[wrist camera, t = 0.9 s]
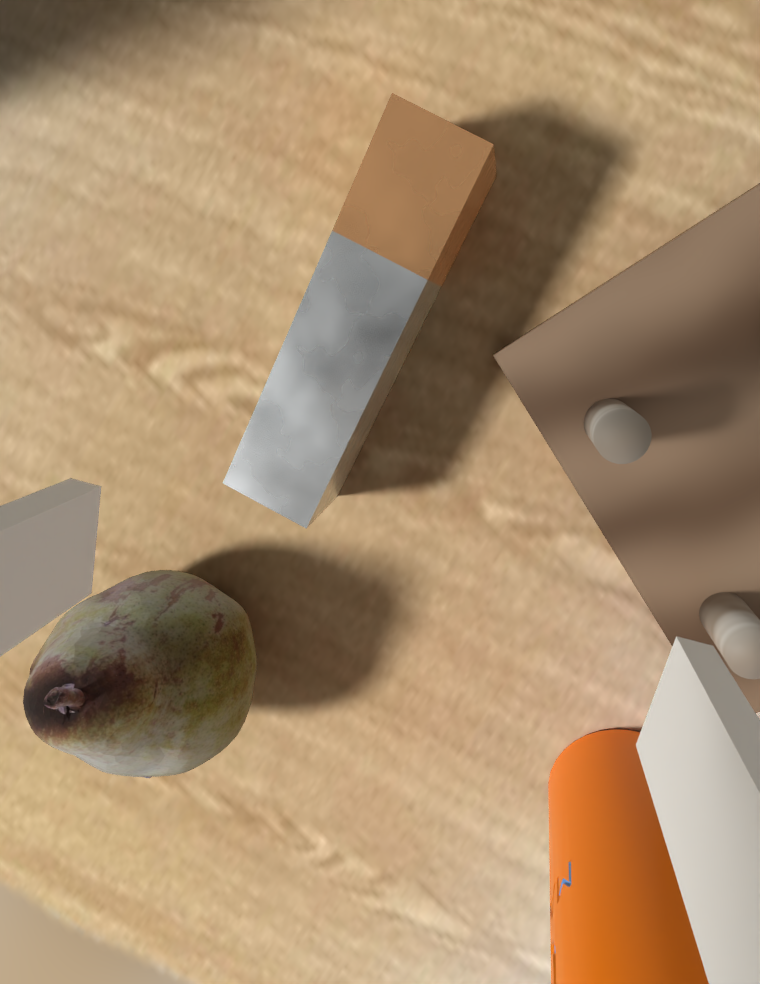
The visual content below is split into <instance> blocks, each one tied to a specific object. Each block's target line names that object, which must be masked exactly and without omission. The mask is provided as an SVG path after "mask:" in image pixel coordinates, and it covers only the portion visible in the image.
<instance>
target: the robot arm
mask: <svg viewBox="0 0 760 984" xmlns="http://www.w3.org/2000/svg"><path fill="white" fill-rule="evenodd" d="M100 494H101V486H98V485H94V484H91V483H87V482H83V481H79V480H75V479H71V478H70V479H68V480H65V481H63V482H60V483H58V484H55V485H53V486H50V487H48V488H45V489H42V490H40V491H37V492H35V493H32V494H30V495H27V496H25V497H22V498H20V499H17V500H15V501H12V502H10V503H7V504H4V505H2V506H0V656H2V655H3V654H5V653H6V652H7V651H9V650H10V649H12V648H13V647H15V646H16V645H17V644H19V643H20V642H22V641H23V640H25V639H26V638H28V637H29V636H30V635H32V634H33V633H35V632H36V631H38V630H39V629H40V628H42V627H43V626H45V625H46V624H48V623H49V622H51V621H52V620H53V619H55V618H56V617H58V616H59V615H61V614H62V613H64V612H65V611H66V610H68V609H69V608H71V607H72V606H74V605H75V604H76V603H78V602H79V601H81V600H82V599H84V598H85V597H87V596H88V595H89V594H91V592H92V581H93V570H94V559H95V548H96V537H97V526H98V516H99V505H100ZM636 748H637V751H638V754H639V757H640V761H641V764H642V767H643V770H644V774H645V777H646V780H647V784H648V787H649V790H650V793H651V797H652V800H653V803H654V806H655V810H656V813H657V816H658V819H659V823H660V826H661V829H662V832H663V836H664V839H665V842H666V846H667V849H668V852H669V855H670V859H671V862H672V865H673V868H674V872H675V875H676V878H677V881H678V885H679V888H680V891H681V894H682V898H683V901H684V904H685V907H686V911H687V914H688V917H689V921H690V924H691V927H692V930H693V934H694V937H695V940H696V943H697V947H698V950H699V953H700V956H701V960H702V963H703V966H704V969H705V973H706V976H707V979H708V983H709V984H760V720H759V718H758V716H757V715H756V713H755V712H754V710H753V708H752V707H751V705H750V704H749V702H748V701H747V699H746V697H745V696H744V694H743V693H742V691H741V689H740V688H739V686H738V685H737V683H736V681H735V680H734V678H733V677H732V675H731V673H730V672H729V670H728V669H727V667H726V665H725V664H724V662H723V661H722V659H721V657H720V656H719V654H718V653H717V651H716V649H715V648H714V646H712V645H708V644H704V643H700V642H697V641H693V640H689V639H685V638H681V637H677V636H676V638H675V641H674V644H673V646H672V649H671V652H670V654H669V657H668V660H667V662H666V665H665V668H664V670H663V673H662V676H661V679H660V681H659V684H658V687H657V689H656V692H655V695H654V697H653V700H652V703H651V705H650V708H649V711H648V713H647V716H646V719H645V722H644V724H643V727H642V730H641V732H640V735H639V738H638V740H637V743H636Z"/></svg>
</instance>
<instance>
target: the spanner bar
mask: <svg viewBox="0 0 760 984" xmlns="http://www.w3.org/2000/svg"><path fill="white" fill-rule="evenodd" d="M495 178H496V164H495V153H494V144H492V143H490V142H488V141H486V140H484V139H482V138H480V137H478V136H476V135H474V134H472V133H470V132H468V131H466V130H464V129H462V128H460V127H458V126H456V125H454V124H452V123H450V122H448V121H446V120H444V119H443V118H441V117H439V116H437V115H435V114H433V113H431V112H429V111H427V110H425V109H423V108H421V107H419V106H417V105H415V104H413V103H411V102H409V101H407V100H405V99H403V98H401V97H399V96H397V95H395V94H393V93H392V94H391V97H390V99H389V101H388V104H387V106H386V108H385V111H384V113H383V115H382V117H381V120H380V122H379V124H378V127H377V129H376V131H375V134H374V136H373V138H372V140H371V143H370V145H369V147H368V150H367V152H366V154H365V157H364V159H363V161H362V163H361V166H360V168H359V170H358V173H357V175H356V177H355V180H354V182H353V184H352V187H351V189H350V191H349V193H348V196H347V198H346V200H345V203H344V205H343V207H342V210H341V212H340V214H339V216H338V219H337V221H336V223H335V226H334V228H333V230H332V233H331V235H330V237H329V239H328V242H327V244H326V246H325V249H324V251H323V253H322V256H321V258H320V260H319V263H318V265H317V267H316V269H315V272H314V274H313V276H312V279H311V281H310V283H309V286H308V288H307V290H306V292H305V295H304V297H303V299H302V302H301V304H300V306H299V309H298V311H297V313H296V315H295V318H294V320H293V322H292V325H291V327H290V329H289V332H288V334H287V336H286V339H285V341H284V343H283V345H282V348H281V350H280V352H279V355H278V357H277V359H276V362H275V364H274V366H273V368H272V371H271V373H270V375H269V378H268V380H267V382H266V385H265V387H264V389H263V391H262V394H261V396H260V398H259V401H258V403H257V405H256V408H255V410H254V412H253V415H252V417H251V419H250V421H249V424H248V426H247V428H246V431H245V433H244V435H243V438H242V440H241V442H240V444H239V447H238V449H237V451H236V454H235V456H234V458H233V461H232V463H231V465H230V467H229V470H228V472H227V474H226V477H225V479H224V481H223V484H225V485H227V486H229V487H231V488H232V489H234V490H236V491H238V492H240V493H242V494H244V495H245V496H247V497H249V498H251V499H253V500H255V501H256V502H258V503H260V504H262V505H264V506H266V507H268V508H269V509H271V510H273V511H275V512H277V513H279V514H281V515H282V516H284V517H286V518H288V519H290V520H292V521H293V522H295V523H297V524H299V525H301V526H303V527H305V528H307V527H308V526H309V525H310V524H311V523H312V522H313V521H314V520H315V519H316V518H317V517H318V516H319V515H320V514H321V513H322V512H323V511H324V510H325V509H326V508H327V507H328V506H329V504H330V503H331V502H332V501H333V500H334V499H335V498H336V497H337V496H338V494H339V492H340V490H341V488H342V486H343V484H344V482H345V480H346V478H347V476H348V474H349V472H350V470H351V468H352V466H353V464H354V462H355V460H356V458H357V456H358V454H359V452H360V450H361V448H362V446H363V444H364V442H365V440H366V438H367V436H368V434H369V432H370V430H371V428H372V426H373V424H374V422H375V420H376V418H377V416H378V414H379V412H380V410H381V408H382V406H383V404H384V402H385V400H386V398H387V396H388V394H389V392H390V390H391V388H392V385H393V383H394V381H395V379H396V377H397V375H398V373H399V371H400V369H401V367H402V365H403V363H404V361H405V359H406V357H407V355H408V353H409V351H410V349H411V347H412V345H413V343H414V341H415V339H416V337H417V335H418V333H419V331H420V329H421V327H422V325H423V323H424V321H425V319H426V317H427V315H428V313H429V311H430V309H431V307H432V305H433V303H434V301H435V299H436V297H437V295H438V293H439V291H440V289H441V287H442V285H443V283H444V281H445V279H446V277H447V275H448V273H449V271H450V268H451V266H452V264H453V262H454V260H455V258H456V256H457V254H458V252H459V250H460V248H461V246H462V244H463V242H464V240H465V238H466V236H467V234H468V232H469V230H470V228H471V226H472V224H473V222H474V220H475V218H476V216H477V214H478V212H479V210H480V208H481V206H482V204H483V202H484V200H485V198H486V196H487V194H488V192H489V190H490V188H491V186H492V184H493V182H494V180H495Z"/></svg>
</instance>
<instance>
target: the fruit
mask: <svg viewBox="0 0 760 984" xmlns="http://www.w3.org/2000/svg"><path fill="white" fill-rule="evenodd" d="M256 664H257V660H256V650H255V644H254V639H253V634H252V629H251V625H250V621H249V618H248V616H247V614H246V612H245V610H244V609H243V608H242V607H241V606H240V605H239V604H238V603H237V602H236V601H235V600H233V599H232V598H230V597H229V596H227V595H226V594H224V593H223V592H221V591H220V590H218V589H217V588H216V587H214V586H213V585H212V584H210V583H208V582H206V581H205V580H203V579H201V578H200V577H197V576H195V575H193V574H189V573H185V572H180V571H172V570H160V571H150V572H145V573H142V574H139V575H136V576H133V577H130V578H128V579H126V580H124V581H122V582H120V583H118V584H117V585H115V586H113V587H111V588H109V589H107V590H105V591H103V592H101V593H99V594H97V595H95V596H92V597H90V598H88V599H86V600H84V601H82V602H81V603H79V604H78V605H76V606H75V607H73V608H72V609H71V610H69V611H68V612H67V613H66V614H65V615H64V616H63V617H62V618H61V619H60V620H59V622H58V623H57V625H56V626H55V628H54V630H53V631H52V633H51V634H50V636H49V637H48V639H47V640H46V642H45V643H44V645H43V646H42V648H41V650H40V652H39V654H38V655H37V656H36V658H35V659H34V661H33V664H32V666H31V668H30V676H29V678H28V680H27V683H26V686H25V690H24V700H23V704H24V710H25V714H26V718H27V720H28V722H29V724H30V726H31V728H32V730H33V731H34V733H35V734H36V735H37V736H38V737H39V738H40V739H41V740H42V741H43V742H45V743H47V744H48V745H50V746H51V747H53V748H56V749H58V750H61V751H63V752H66V753H69V754H72V755H75V756H76V757H78V758H79V759H81V760H82V761H84V762H86V763H87V764H89V765H91V766H93V767H95V768H97V769H98V770H100V771H102V772H105V773H109V774H115V775H122V776H133V777H145V778H151V777H152V776H155V777H156V776H169V775H176V774H180V773H185V772H187V771H189V770H192V769H194V768H196V767H198V766H199V765H201V764H203V763H205V762H206V761H208V760H210V759H211V758H213V757H214V756H215V755H217V754H218V753H219V752H221V751H222V750H223V749H224V748H225V747H227V746H228V745H229V744H230V743H231V741H232V740H233V739H234V738H235V737H236V736H237V734H238V733H239V731H240V729H241V727H242V726H243V724H244V722H245V719H246V717H247V714H248V711H249V707H250V704H251V700H252V696H253V689H254V682H255V676H256Z"/></svg>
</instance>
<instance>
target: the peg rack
mask: <svg viewBox="0 0 760 984" xmlns="http://www.w3.org/2000/svg"><path fill="white" fill-rule="evenodd" d="M493 356H494V358H495V359H496V361H497V362H498V364H499V366H500V367H501V369H502V371H503V372H504V374H505V375H506V377H507V379H508V380H509V382H510V384H511V385H512V387H513V388H514V390H515V392H516V393H517V395H518V397H519V398H520V400H521V401H522V403H523V405H524V406H525V408H526V410H527V411H528V413H529V414H530V416H531V418H532V419H533V421H534V423H535V424H536V426H537V427H538V429H539V431H540V432H541V434H542V436H543V437H544V439H545V440H546V442H547V444H548V445H549V447H550V448H551V450H552V452H553V453H554V455H555V457H556V458H557V460H558V461H559V463H560V465H561V466H562V468H563V470H564V471H565V473H566V474H567V476H568V478H569V479H570V481H571V483H572V484H573V486H574V487H575V489H576V491H577V492H578V494H579V496H580V497H581V499H582V500H583V502H584V504H585V505H586V507H587V509H588V510H589V512H590V513H591V515H592V517H593V518H594V520H595V522H596V523H597V525H598V526H599V528H600V530H601V531H602V533H603V535H604V536H605V538H606V539H607V541H608V543H609V544H610V546H611V547H612V549H613V551H614V552H615V554H616V556H617V557H618V559H619V560H620V562H621V564H622V565H623V567H624V569H625V570H626V572H627V573H628V575H629V577H630V578H631V580H632V582H633V583H634V585H635V586H636V588H637V590H638V591H639V593H640V595H641V596H642V598H643V599H644V601H645V603H646V604H647V606H648V608H649V609H650V611H651V612H652V614H653V616H654V617H655V619H656V621H657V622H658V624H659V625H660V627H661V629H662V630H663V632H664V633H665V635H666V637H667V638H668V640H669V642H670V643H671V645H672V646H673V644H674V641H675V638H676V636H677V637H681V638H685V639H689V640H693V641H697V642H700V643H704V644H708V645H712V646H714V648H715V649H716V651H717V653H718V654H719V656H720V657H721V659H722V661H723V662H724V664H725V665H726V667H727V669H728V670H729V672H730V673H731V675H732V677H733V678H734V680H735V681H736V683H737V685H738V686H739V688H740V689H741V691H742V693H743V694H744V696H745V697H746V699H747V701H748V702H749V704H750V705H751V707H752V708H753V710H754V712H755V713H757V712H760V183H759V184H758V185H756V186H755V187H753V188H752V189H750V190H749V191H747V192H745V193H744V194H742V195H741V196H739V197H738V198H736V199H734V200H733V201H731V202H730V203H728V204H727V205H725V206H724V207H722V208H720V209H719V210H717V211H716V212H714V213H713V214H711V215H710V216H708V217H706V218H705V219H703V220H702V221H700V222H699V223H697V224H696V225H694V226H692V227H691V228H689V229H688V230H686V231H685V232H683V233H681V234H680V235H678V236H677V237H675V238H674V239H672V240H671V241H669V242H667V243H666V244H664V245H663V246H661V247H660V248H658V249H657V250H655V251H653V252H652V253H650V254H649V255H647V256H646V257H644V258H643V259H641V260H639V261H638V262H636V263H635V264H633V265H632V266H630V267H629V268H627V269H625V270H624V271H622V272H621V273H619V274H618V275H616V276H614V277H613V278H611V279H610V280H608V281H607V282H605V283H604V284H602V285H600V286H599V287H597V288H596V289H594V290H593V291H591V292H590V293H588V294H586V295H585V296H583V297H582V298H580V299H579V300H577V301H576V302H574V303H572V304H571V305H569V306H568V307H566V308H565V309H563V310H561V311H560V312H558V313H557V314H555V315H554V316H552V317H551V318H549V319H547V320H546V321H544V322H543V323H541V324H540V325H538V326H537V327H535V328H533V329H532V330H530V331H529V332H527V333H526V334H524V335H523V336H521V337H519V338H518V339H516V340H515V341H513V342H512V343H510V344H508V345H507V346H505V347H504V348H502V349H501V350H499V351H498V352H496V353H494V355H493Z"/></svg>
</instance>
